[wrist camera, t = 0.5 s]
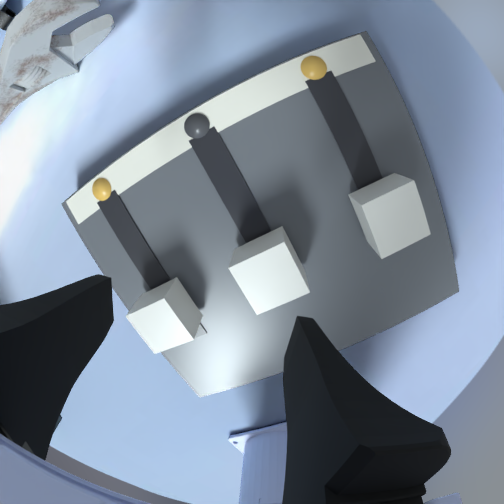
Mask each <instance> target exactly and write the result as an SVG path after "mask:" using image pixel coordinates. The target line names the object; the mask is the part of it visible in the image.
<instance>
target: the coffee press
mask: <svg viewBox="0 0 504 504" xmlns="http://www.w3.org/2000/svg"><path fill="white" fill-rule="evenodd" d="M6 2H7V0H0V28H1V29H3V30H6V31H7V28H8V26H9V25H10V23H11V22H12V20H13V19H14V18H15V16H16V14H15V13H14V12H13V11H11V10H10V9H9V8H8V7H7V6H6V5H5V3H6Z"/></svg>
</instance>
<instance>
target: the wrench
mask: <svg viewBox="0 0 504 504" xmlns="http://www.w3.org/2000/svg"><path fill="white" fill-rule="evenodd" d="M98 7H100V3H99V0H33V1H32V2H31V3H30V4H28V5H27V6H26V7H25V8H24V9H23V10H22V11H21V12H20V13H18V14H17V15H16V16H15V18H14V19H13V20H12V22H11V23H10V25H9V26H8V28H7V31H6V34H5V38H4V42H3V45H2V48H1V52H0V125H1V124H2V122H3V121H4V120H5V119H6V118H7V117H8V115H9V114H10V113H11V112H12V111H13V110H14V109H15V108H16V107H17V106H18V105H19V104H20V103H22V102H23V101H24V100H26V99H27V98H28V97H29V96H31V95H32V94H34V93H35V92H37V91H39V90H40V89H42V88H44V87H46V86H47V85H49V84H51V83H53V82H54V81H56V80H58V79H61V78H63V77H66V76H69V75H72V74H75V73H78V72H79V70H78V67H77V63H78V62H79V61H80V60H82V59H83V58H84V57H85V56H87V55H88V54H89V53H91V52H92V51H93V50H94V49H95V48H96V47H97V46H98V45H99V44H100V43H101V42H102V41H103V40H104V39H105V37H106V36H107V35H108V34H109V33H110V32H111V30H112V29H113V28H114V27H115V25H114V21H113V18H112V15H109V14H106V15H103V16H101V17H98V18H96V19H93V20H91V21H89V22H87V23H85V24H84V25H82V26H80V27H78V28H77V29H75V30H73V31H72V32H71V33H70V35H53V36H52V32H53V31H54V30H56V29H58V28H59V27H61V26H63V25H65V24H66V23H68V22H70V21H72V20H74V19H76V18H78V17H79V16H81V15H83V14H85V13H87V12H89V11H91V10H93V9H95V8H98Z"/></svg>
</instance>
